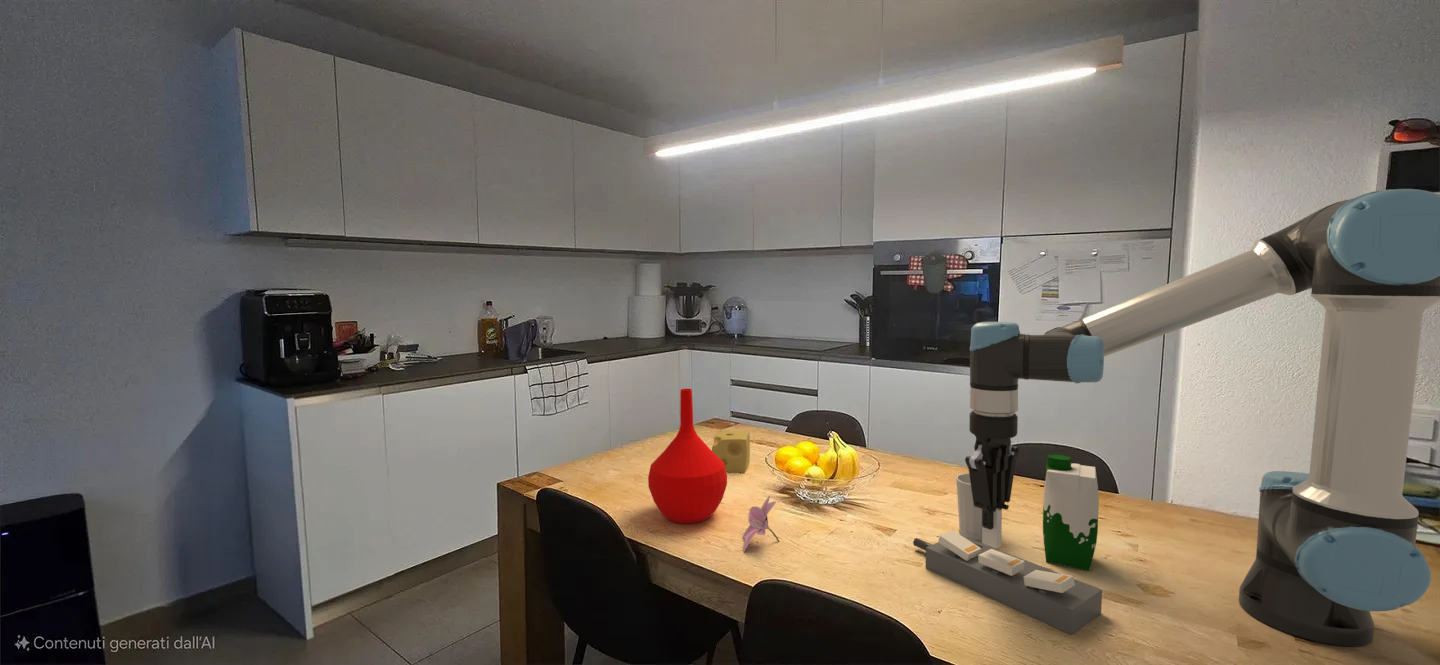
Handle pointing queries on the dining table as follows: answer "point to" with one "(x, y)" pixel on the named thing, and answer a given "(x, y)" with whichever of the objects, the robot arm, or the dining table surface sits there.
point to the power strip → (1017, 587)
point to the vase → (687, 473)
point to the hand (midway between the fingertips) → (991, 544)
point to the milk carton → (1070, 512)
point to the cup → (968, 510)
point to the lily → (758, 522)
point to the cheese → (733, 449)
